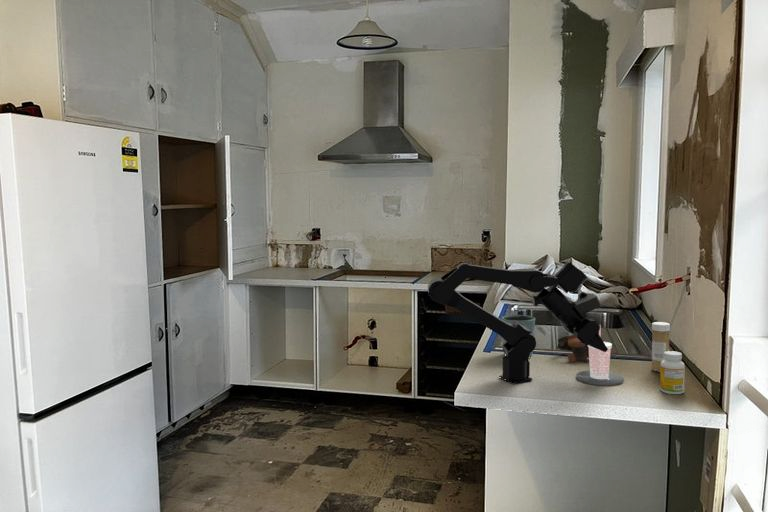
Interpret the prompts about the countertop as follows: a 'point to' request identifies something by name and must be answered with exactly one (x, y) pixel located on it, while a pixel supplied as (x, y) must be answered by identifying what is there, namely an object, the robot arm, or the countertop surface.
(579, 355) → the pottery mug
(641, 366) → the countertop surface
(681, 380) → the supplement bottle
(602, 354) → the beverage cup
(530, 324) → the drinking glass
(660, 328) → the sprinkles bottle
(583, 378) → the coaster
